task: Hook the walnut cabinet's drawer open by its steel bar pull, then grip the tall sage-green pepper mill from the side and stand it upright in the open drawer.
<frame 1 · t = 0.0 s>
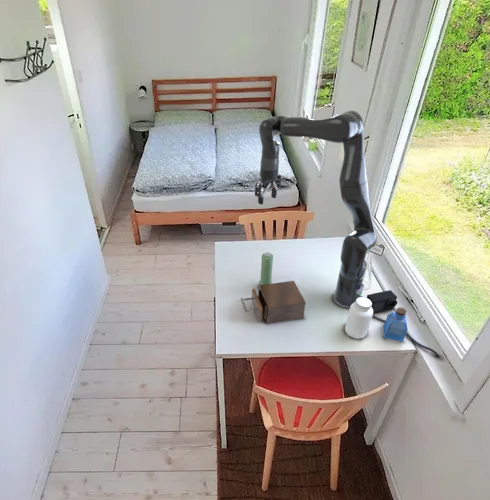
hand: (267, 200, 168), 29 cm above the table, tool pointing down, fingers open, 8 cm apart
drawer: (265, 303, 151), point 4 cm above the table, slide at 2.0 cm
cabinet: (280, 309, 154), on the table
digital camera: (378, 309, 152), on the table
perfume bottle: (393, 334, 142), on the table
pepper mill: (265, 287, 165), on the table
pill bottle: (355, 331, 143), on the table
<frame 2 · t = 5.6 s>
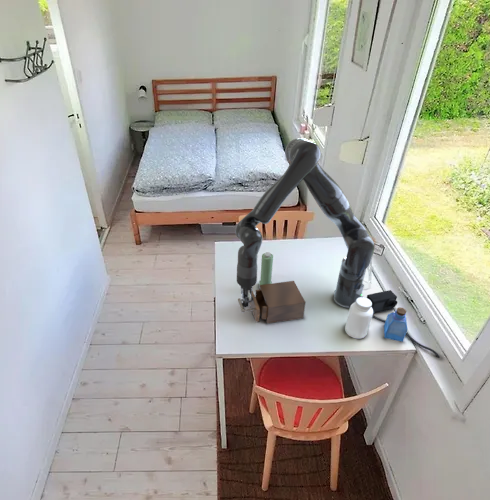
hand: (245, 305, 150), 4 cm above the table, tool pointing down, fingers closed
drawer: (262, 304, 151), point 4 cm above the table, slide at 3.1 cm, touching gripper
everything else where it was.
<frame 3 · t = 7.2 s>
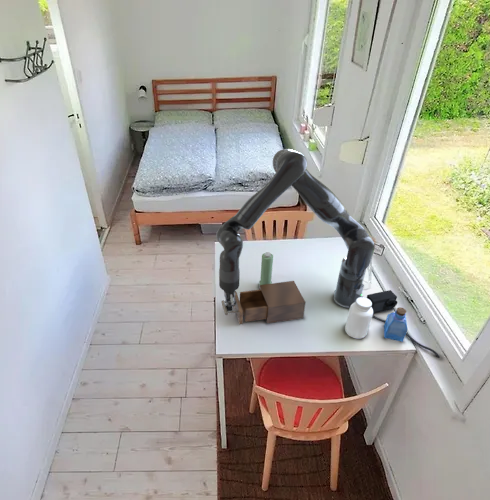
hand: (229, 309, 150), 4 cm above the table, tool pointing down, fingers closed
drawer: (246, 306, 150), point 4 cm above the table, slide at 9.7 cm, touching gripper
everything else where it was.
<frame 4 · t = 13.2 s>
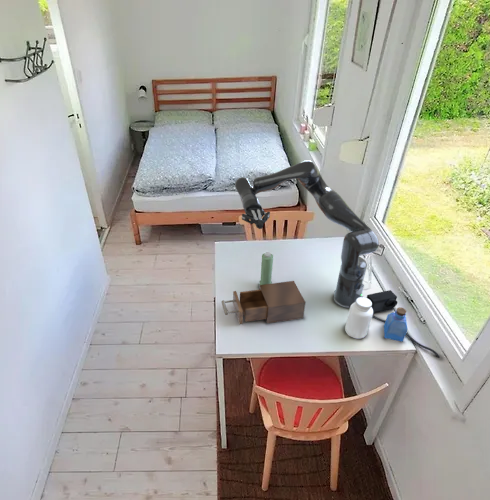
hand: (260, 227, 158), 26 cm above the table, tool horizontal, fingers closed
drawer: (246, 306, 150), point 4 cm above the table, slide at 9.7 cm
everything else where it was.
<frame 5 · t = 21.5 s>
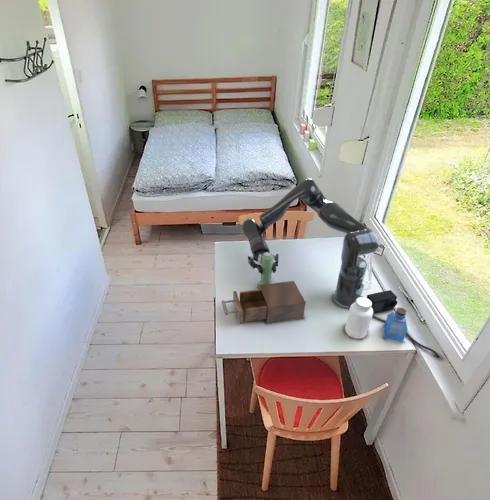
hand: (268, 271, 157), 11 cm above the table, tool horizontal, fingers closed on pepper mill, 4 cm apart
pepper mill: (265, 287, 165), on the table, touching gripper
everything else where it was.
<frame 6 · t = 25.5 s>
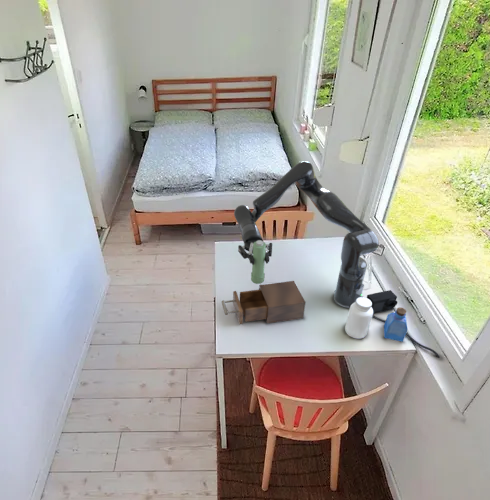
hand: (260, 262, 141), 24 cm above the table, tool horizontal, fingers closed on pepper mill, 4 cm apart
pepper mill: (257, 279, 150), point 13 cm above the table, touching gripper
everything else where it was.
when the fingers open (13 cm above the table, at t = 29.7 s): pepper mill stays where it is, resting on drawer.
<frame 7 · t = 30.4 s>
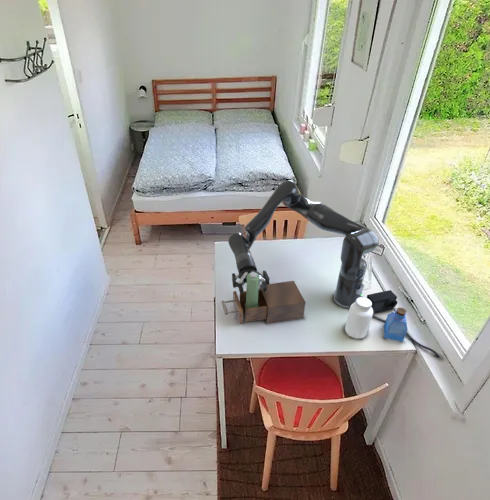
hand: (253, 291, 144), 13 cm above the table, tool horizontal, fingers open, 8 cm apart
drawer: (246, 306, 150), point 4 cm above the table, slide at 9.7 cm, touching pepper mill
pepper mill: (251, 309, 152), point 2 cm above the table, touching drawer
everything else where it was.
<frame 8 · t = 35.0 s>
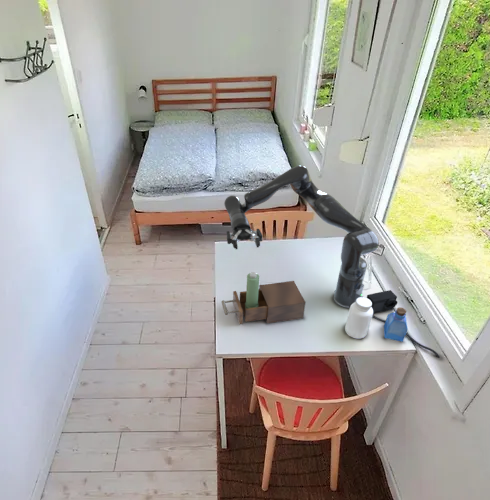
hand: (247, 246, 149), 24 cm above the table, tool horizontal, fingers open, 8 cm apart
nothing on the table moved.
at the end: drawer slide at 9.7 cm; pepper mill 0.2 cm from the target spot in the drawer, point 2.0 cm above the cabinet's base; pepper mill tilted 0° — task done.
